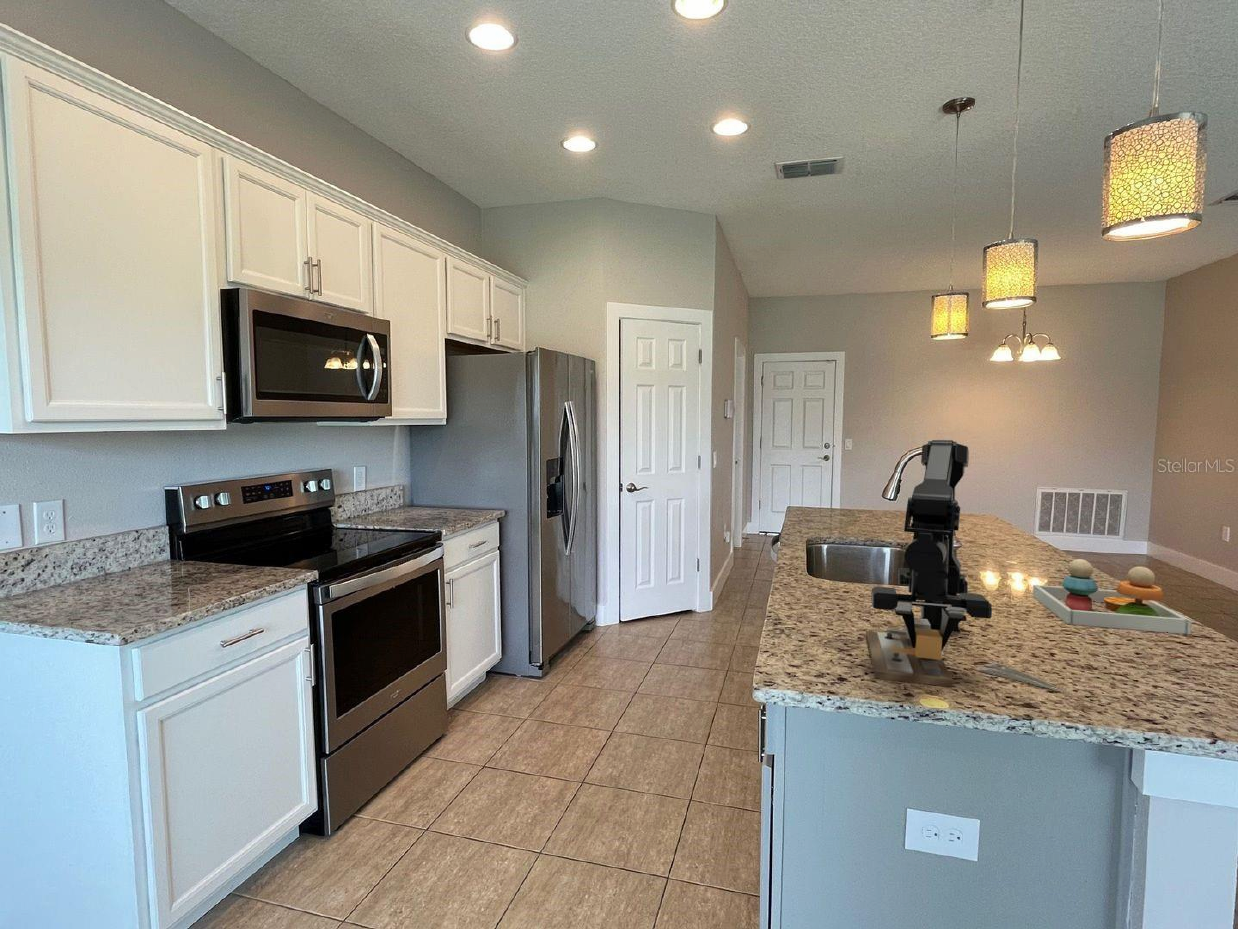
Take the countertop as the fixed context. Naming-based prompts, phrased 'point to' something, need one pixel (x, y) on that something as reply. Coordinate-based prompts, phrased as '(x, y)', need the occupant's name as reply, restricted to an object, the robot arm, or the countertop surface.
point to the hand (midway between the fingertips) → (926, 648)
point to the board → (905, 658)
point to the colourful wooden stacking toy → (1134, 588)
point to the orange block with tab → (924, 645)
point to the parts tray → (1163, 623)
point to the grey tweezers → (1012, 674)
